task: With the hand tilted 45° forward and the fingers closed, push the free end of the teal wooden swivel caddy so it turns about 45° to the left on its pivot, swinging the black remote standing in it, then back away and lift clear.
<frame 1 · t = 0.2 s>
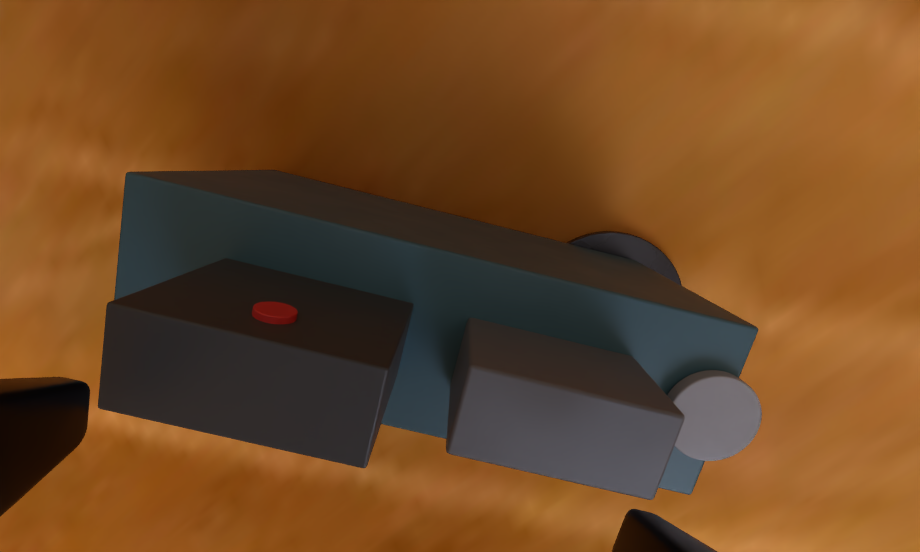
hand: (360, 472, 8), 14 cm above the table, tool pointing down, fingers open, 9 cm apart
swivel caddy: (445, 318, 15), point 7 cm above the table, hinge at 0.0°
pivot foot: (603, 306, 22), on the table
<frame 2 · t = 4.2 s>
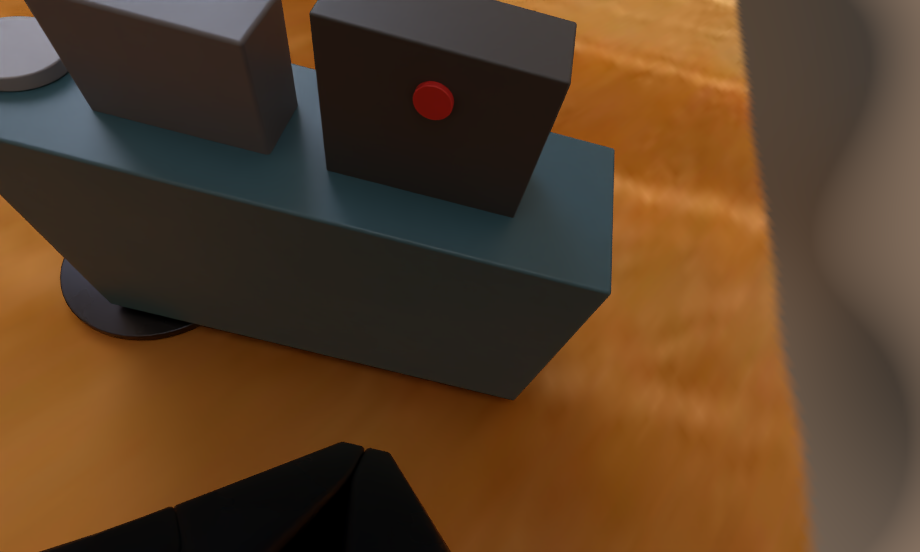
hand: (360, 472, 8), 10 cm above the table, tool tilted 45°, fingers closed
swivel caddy: (312, 195, 14), point 7 cm above the table, hinge at 0.0°
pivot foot: (162, 263, 20), on the table
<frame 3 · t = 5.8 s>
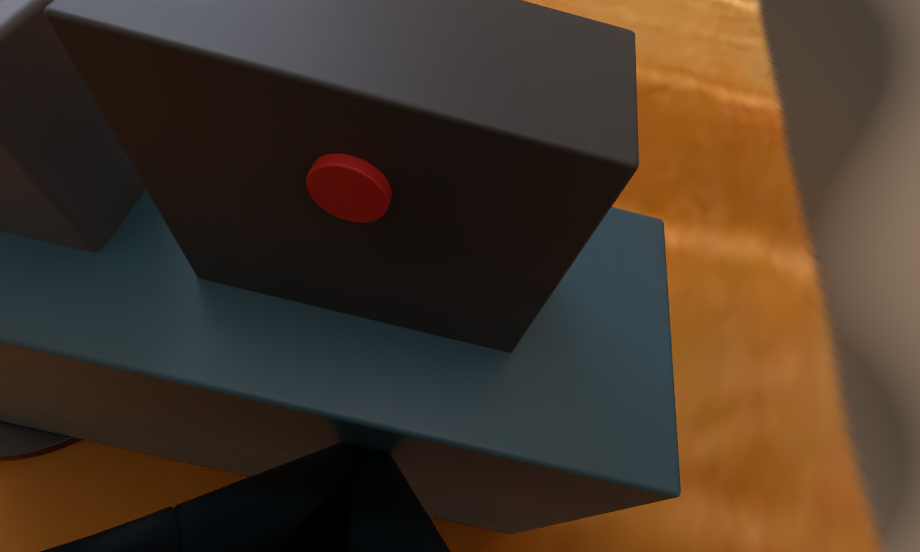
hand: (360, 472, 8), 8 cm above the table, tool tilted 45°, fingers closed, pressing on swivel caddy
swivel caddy: (209, 288, 10), point 7 cm above the table, hinge at 0.1°, touching gripper
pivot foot: (48, 345, 15), on the table
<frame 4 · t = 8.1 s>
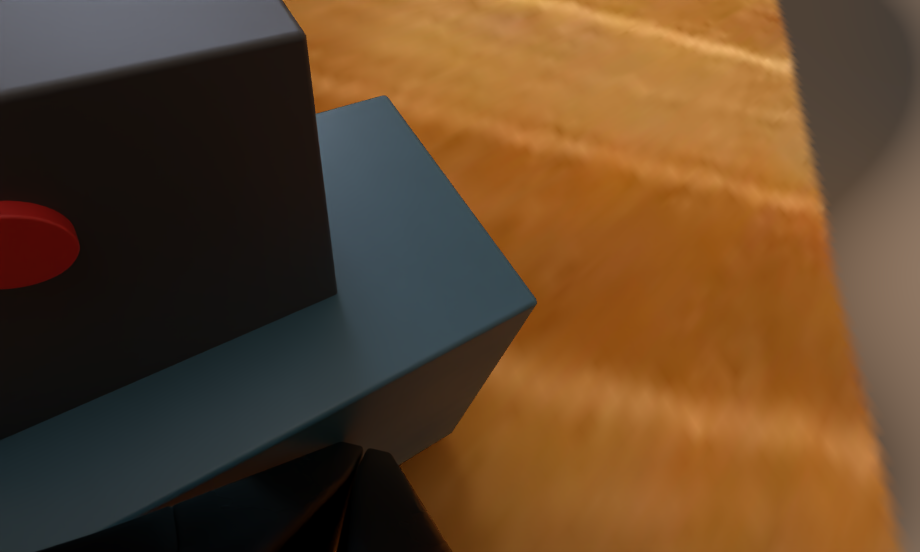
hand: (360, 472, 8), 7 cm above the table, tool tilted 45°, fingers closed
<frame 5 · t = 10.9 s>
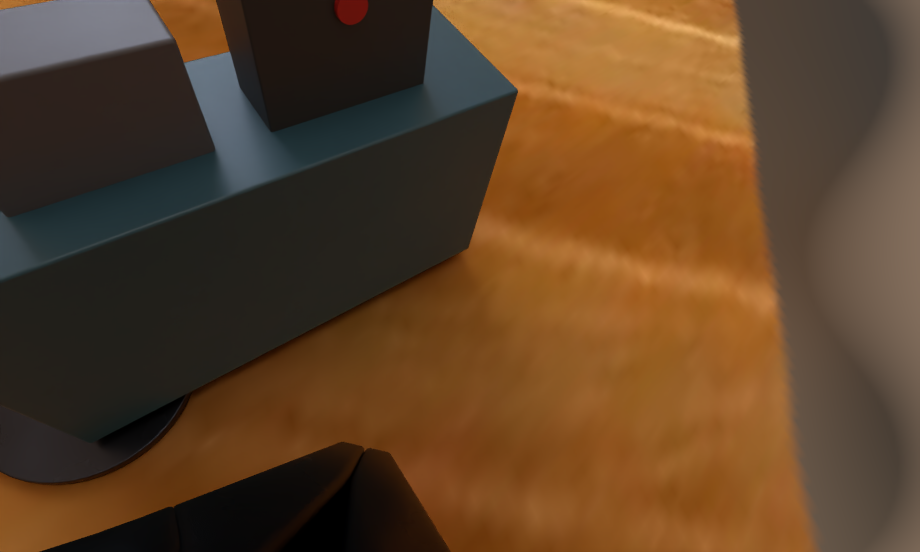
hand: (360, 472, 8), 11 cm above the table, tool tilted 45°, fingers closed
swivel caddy: (240, 183, 15), point 7 cm above the table, hinge at 46.5°
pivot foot: (93, 382, 18), on the table
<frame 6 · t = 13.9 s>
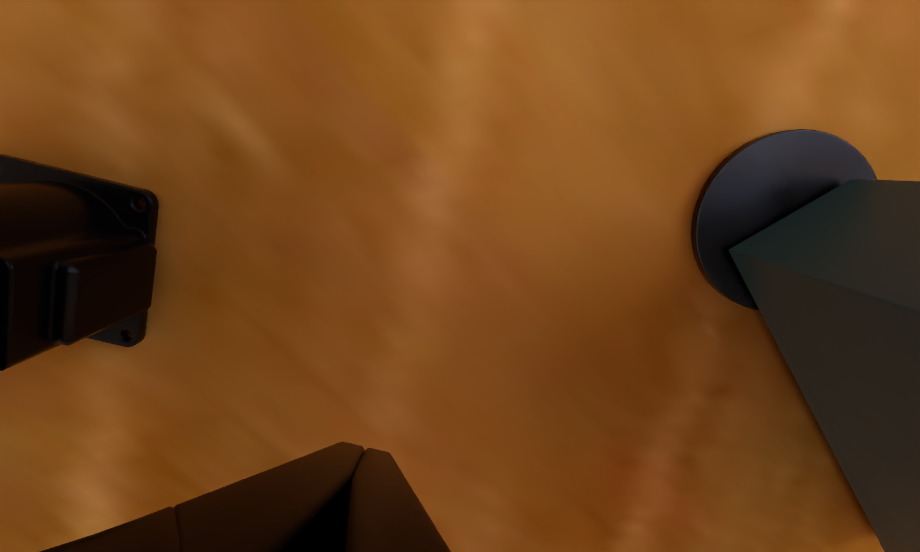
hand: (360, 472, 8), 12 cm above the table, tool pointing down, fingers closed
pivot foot: (781, 223, 19), on the table
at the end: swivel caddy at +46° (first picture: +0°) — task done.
